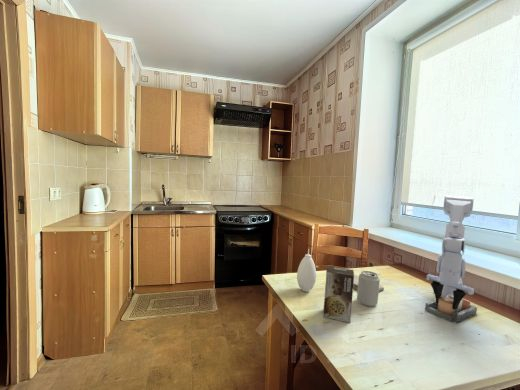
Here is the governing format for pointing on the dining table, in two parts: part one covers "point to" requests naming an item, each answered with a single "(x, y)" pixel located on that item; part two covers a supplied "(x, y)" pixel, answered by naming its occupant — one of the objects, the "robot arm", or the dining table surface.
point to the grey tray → (455, 318)
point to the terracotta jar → (446, 306)
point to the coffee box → (338, 293)
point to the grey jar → (458, 305)
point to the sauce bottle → (306, 273)
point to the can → (368, 288)
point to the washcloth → (356, 280)
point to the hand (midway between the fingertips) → (446, 305)
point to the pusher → (464, 303)
